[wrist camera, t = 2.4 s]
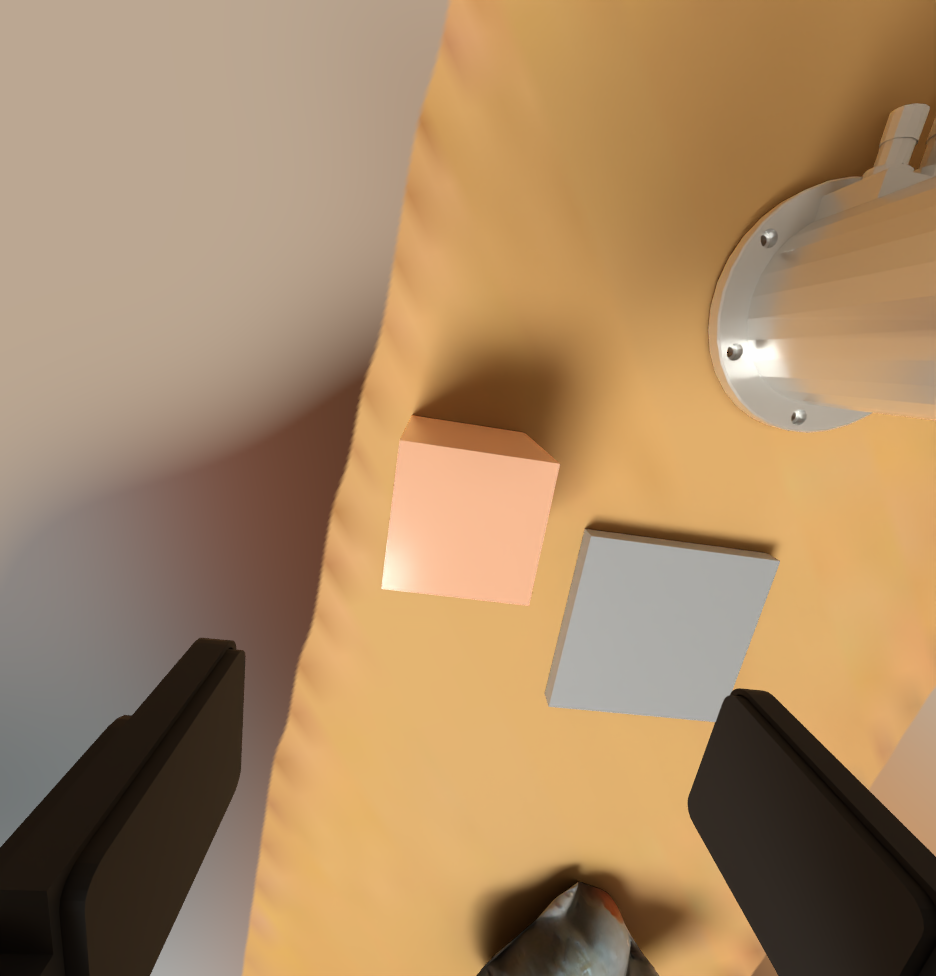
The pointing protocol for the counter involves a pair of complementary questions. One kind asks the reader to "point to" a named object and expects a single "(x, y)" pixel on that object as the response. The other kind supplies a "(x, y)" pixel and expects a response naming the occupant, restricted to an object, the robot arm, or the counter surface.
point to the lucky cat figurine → (573, 941)
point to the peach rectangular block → (468, 511)
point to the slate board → (656, 626)
